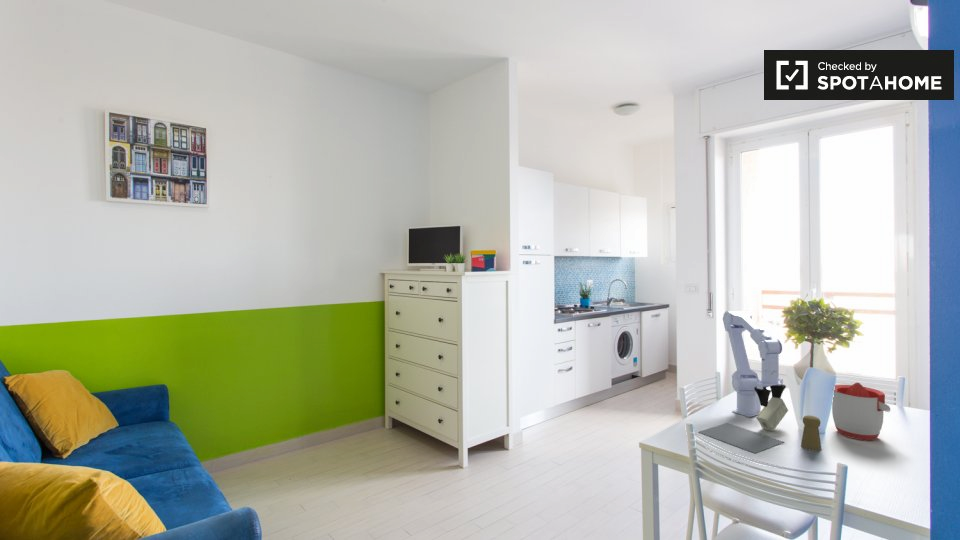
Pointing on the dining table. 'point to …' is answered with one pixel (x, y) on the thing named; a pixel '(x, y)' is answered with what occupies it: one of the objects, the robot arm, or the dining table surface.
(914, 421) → the dining table surface
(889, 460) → the dining table surface
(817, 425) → the cork
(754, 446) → the mat
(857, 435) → the citrus juicer
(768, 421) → the skincare box
